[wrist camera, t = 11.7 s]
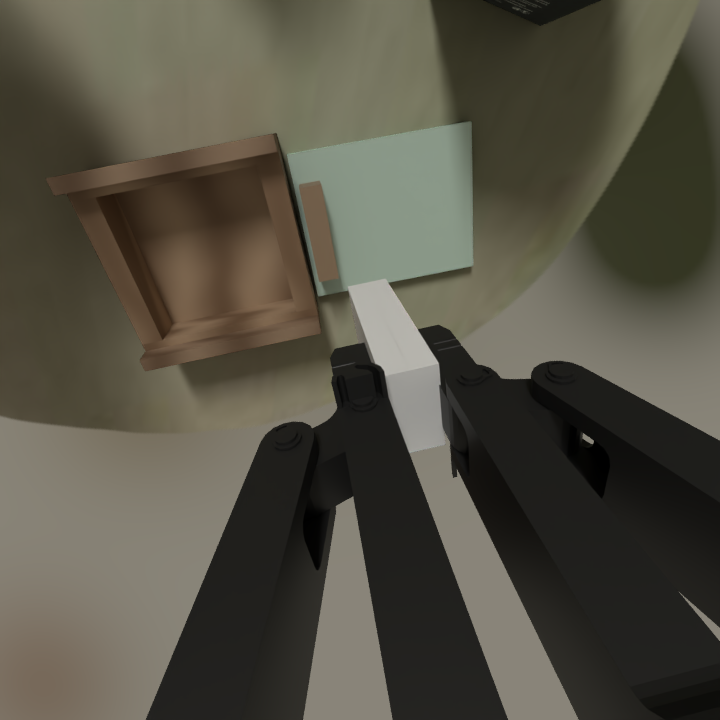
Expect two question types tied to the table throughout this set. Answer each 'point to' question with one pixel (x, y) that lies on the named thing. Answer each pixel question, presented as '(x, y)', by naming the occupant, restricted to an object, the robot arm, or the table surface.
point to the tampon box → (541, 8)
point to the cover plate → (387, 206)
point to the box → (200, 248)
